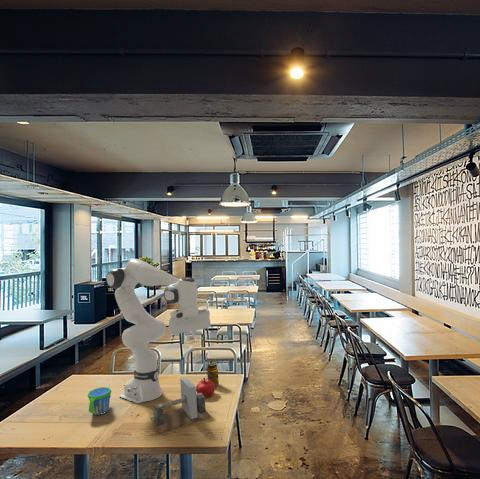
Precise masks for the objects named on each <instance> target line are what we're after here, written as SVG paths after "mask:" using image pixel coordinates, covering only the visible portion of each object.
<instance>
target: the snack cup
mask: <svg viewBox="0 0 480 479" xmlns="http://www.w3.org/2000/svg"><path fill="white" fill-rule="evenodd" d="M111 393H112V388H111V387H105V386H104V387H103V386H102V387H96V388H94V389H92V390H90V391H89V392H87V398H88V399H89V406H88V412H89V413H90V414H93V413H94V414H101V413H104V412H106V411H107V412H108V411H109V410H108V409H110V402H111V401H110V398H111V396H112V395H111ZM107 412H106V413H107ZM94 414H93V415H94Z"/></svg>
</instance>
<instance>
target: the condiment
mask: <svg viewBox="0 0 480 479" xmlns="http://www.w3.org/2000/svg"><path fill="white" fill-rule="evenodd" d="M206 371H207V372H206V375H207V376H206V377H207V378H208V379H207V381H208V380H210V381H211V380H212V382H214V384H215V389H217V388H218V387H221V386H222V384H220V383H219V368H218V364H217V363H216V362H211V363H210V362H209V363H208V364H207V370H206Z"/></svg>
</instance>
